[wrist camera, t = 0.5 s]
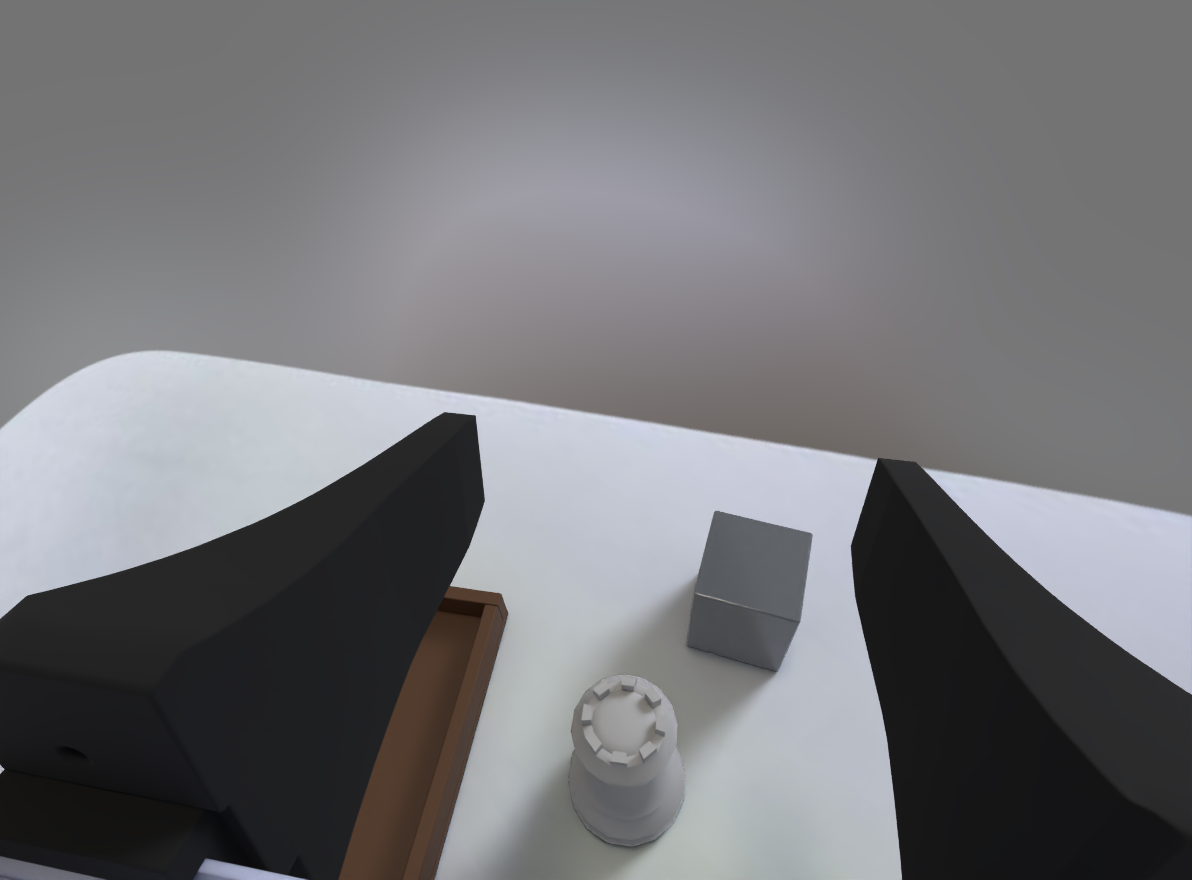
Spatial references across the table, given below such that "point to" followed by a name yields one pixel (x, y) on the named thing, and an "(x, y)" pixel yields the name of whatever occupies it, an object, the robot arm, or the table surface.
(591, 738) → the rook chess piece
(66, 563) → the table surface
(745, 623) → the grey block
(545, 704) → the table surface
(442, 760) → the walnut tray
